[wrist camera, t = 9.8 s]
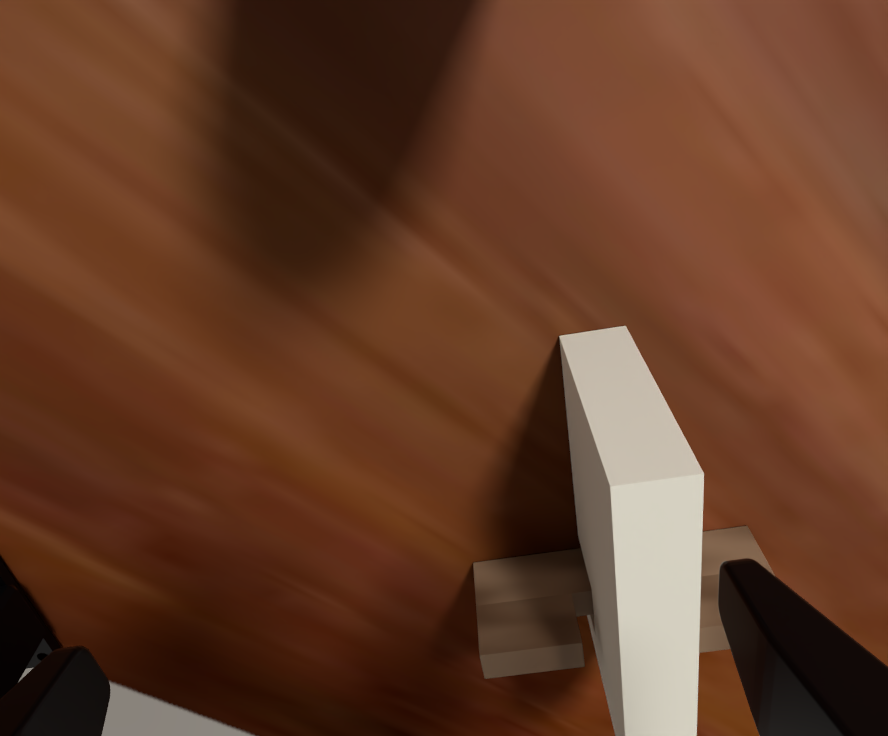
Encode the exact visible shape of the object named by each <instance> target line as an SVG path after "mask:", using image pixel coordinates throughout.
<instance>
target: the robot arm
mask: <svg viewBox="0 0 888 736" xmlns="http://www.w3.org/2000/svg"><path fill="white" fill-rule="evenodd" d="M718 608H719V614H720V618H721V621H722V624H723V627H724V630H725V634H726V637H727V640H728V643H729V646H730V649H731V652H732V655H733V658H734V661H735V664H736V667H737V670H738V673H739V676H740V679H741V682H742V685H743V688H744V691H745V694H746V697H747V700H748V703H749V706H750V709H751V712H752V715H753V718H754V721H755V724H756V727H757V729H758V732H759V735H760V736H888V666H886V665H885V664H884V663H883V662H881V661H880V660H879V659H878V658H876V657H875V656H874V655H873V654H871V653H870V652H869V651H868V650H866V649H865V648H864V647H863V646H861V645H860V644H859V643H858V642H856V641H855V640H854V639H853V638H851V637H850V636H849V635H848V634H846V633H845V632H844V631H843V630H842V629H840V628H839V627H838V626H837V625H835V624H834V623H833V622H832V621H830V620H829V619H828V618H827V617H825V616H824V615H823V614H822V613H820V612H819V611H818V610H817V609H815V608H814V607H813V606H812V605H810V604H809V603H808V602H807V601H805V600H804V599H803V598H802V597H800V596H799V595H798V594H797V593H795V592H794V591H793V590H792V589H790V588H789V587H788V586H787V585H786V584H784V583H783V582H782V581H781V580H779V579H778V578H777V577H776V576H774V575H773V574H772V573H771V572H769V571H768V570H767V569H766V568H764V567H763V566H762V565H761V564H759V563H758V562H757V561H755V560H753V559H750V558H744V559H737V560H729V561H724V562H722V563H721V565H720V569H719V589H718ZM32 667H34V668H33V669H32V670H31V671H30V672H29V673H28V674H27V675H26V676H25V677H24V678H23V679H22V680H21V681H20V682H18V681H19V679H20V677H21V676H22V674H23V672H24V671H25V669H26V668H32ZM109 699H110V684H109V681H108V678H107V677H106V675H105V674H104V672H103V671H102V669H101V668H100V666H99V665H98V663H97V662H96V660H95V658H94V657H93V655H92V654H91V652H90V651H89V650H88V649H87V648H85V647H83V646H74V647H67V648H61V647H60V646H59V644H58V643H57V641H56V640H55V638H54V637H53V636H52V634H51V633H50V631H49V630H48V628H47V627H46V625H45V624H44V622H43V621H42V619H41V618H40V617H39V615H38V614H37V612H36V611H35V609H34V608H33V606H32V605H31V603H30V602H29V601H28V599H27V598H26V596H25V595H24V593H23V592H22V590H21V589H20V587H19V586H18V585H17V583H16V582H15V580H14V579H13V577H12V576H11V574H10V573H9V571H8V570H7V568H6V567H5V566H4V564H3V563H2V561H1V560H0V736H101V734H102V730H103V726H104V721H105V716H106V712H107V707H108V703H109Z"/></svg>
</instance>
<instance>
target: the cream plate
mask: <svg viewBox="0 0 888 736" xmlns="http://www.w3.org/2000/svg"><path fill="white" fill-rule="evenodd" d="M559 339H560V350H561V360H562V371H563V381H564V392H565V403H566V413H567V424H568V435H569V445H570V456H571V466H572V477H573V488H574V498H575V509H576V520H577V530H578V538H579V542H580V545H581V549H582V553H583V557H584V561H585V565H586V569H587V573H588V577H589V581H590V585H591V589H592V599H593V611H594V614H593V615H587V618H588V622H589V626H590V630H591V634H592V639H593V643H594V647H595V651H596V656H597V660H598V664H599V668H600V672H601V677H602V681H603V685H604V689H605V694H606V698H607V702H608V706H609V711H610V715H611V719H612V723H613V727H614V732H615V736H697V703H698V668H699V632H700V597H701V562H702V527H703V492H704V473H703V471H702V469H701V467H700V465H699V463H698V461H697V460H696V458H695V456H694V454H693V452H692V450H691V448H690V446H689V444H688V443H687V441H686V439H685V437H684V435H683V433H682V431H681V429H680V427H679V426H678V424H677V422H676V420H675V418H674V416H673V414H672V412H671V411H670V409H669V407H668V405H667V403H666V401H665V399H664V397H663V395H662V394H661V392H660V390H659V388H658V386H657V384H656V382H655V380H654V378H653V377H652V375H651V373H650V371H649V369H648V367H647V365H646V363H645V362H644V360H643V358H642V356H641V354H640V352H639V350H638V348H637V346H636V345H635V343H634V341H633V339H632V337H631V335H630V333H629V331H628V329H627V328H626V326H621V327H614V328H608V329H601V330H595V331H588V332H582V333H575V334H569V335H562V336H559Z"/></svg>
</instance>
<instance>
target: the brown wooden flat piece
mask: <svg viewBox="0 0 888 736" xmlns="http://www.w3.org/2000/svg"><path fill="white" fill-rule="evenodd" d="M744 558H750V559H753V560H755V561H757V562H758V563H759V564H761V565H762V566H763V567H764V568H766V569H767V570H768V571H769V572H771V573H772V574H773V575H774V573H773V571H772V569H771V567H770V566H769V564H768V562H767V560H766V559H765V557H764V555H763V553H762V551H761V550H760V548H759V546H758V544H757V542H756V541H755V539H754V537H753V535H752V533H751V532H750V530H749V528H748V526H742V527H734V528H727V529H719V530H712V531H705V532H702V562H701V597H700V632H699V653H701V652H709V651H717V650H725V649H730V646H729V643H728V640H727V637H726V634H725V630H724V627H723V624H722V621H721V618H720V614H719V608H718V589H719V569H720V565H721V563H722V562H724V561H729V560H737V559H744ZM473 567H474V582H475V596H476V611H477V626H478V640H479V655H480V660H481V664H482V669H483V673H484V678H485V679H488V678H496V677H505V676H513V675H521V674H529V673H537V672H545V671H554V670H562V669H570V668H578V667H585V664H584V655H583V646H582V640H581V635H580V631H579V626H578V622H577V616H585V615H593V614H594V611H593V599H592V589H591V585H590V581H589V577H588V573H587V569H586V565H585V561H584V557H583V553H582V549H581V548H578V549H571V550H564V551H556V552H549V553H541V554H534V555H527V556H519V557H512V558H504V559H497V560H489V561H482V562H475V563H473ZM774 576H775V575H774Z"/></svg>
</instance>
